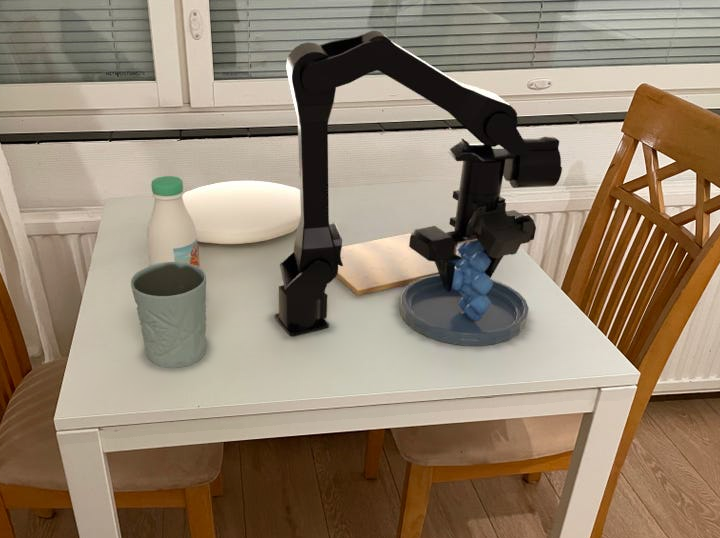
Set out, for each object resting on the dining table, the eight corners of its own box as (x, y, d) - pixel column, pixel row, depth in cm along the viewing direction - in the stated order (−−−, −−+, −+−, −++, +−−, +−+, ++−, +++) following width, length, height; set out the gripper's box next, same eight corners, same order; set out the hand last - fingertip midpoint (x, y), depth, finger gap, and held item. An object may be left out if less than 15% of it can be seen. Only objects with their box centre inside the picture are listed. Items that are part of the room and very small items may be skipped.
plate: (147, 226, 134) (180, 176, 156) (155, 259, 138) (186, 206, 160) (303, 216, 130) (314, 166, 153) (306, 251, 134) (316, 197, 156)
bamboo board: (357, 296, 123) (357, 290, 122) (314, 257, 135) (314, 252, 134) (459, 272, 129) (460, 267, 129) (409, 237, 142) (410, 232, 141)
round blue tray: (445, 358, 107) (447, 345, 106) (377, 299, 122) (378, 287, 120) (552, 329, 114) (555, 316, 112) (475, 276, 128) (477, 264, 127)
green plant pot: (213, 333, 113) (208, 261, 106) (209, 371, 104) (203, 295, 98) (145, 334, 113) (136, 262, 106) (135, 372, 104) (125, 296, 98)
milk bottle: (161, 315, 117) (148, 193, 106) (148, 294, 123) (134, 175, 112) (208, 305, 120) (200, 185, 109) (193, 285, 126) (184, 168, 115)
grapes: (431, 296, 122) (438, 227, 115) (471, 293, 123) (481, 225, 116) (451, 333, 112) (461, 260, 106) (495, 330, 113) (507, 257, 106)
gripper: (458, 219, 97) (445, 323, 106) (571, 197, 103) (550, 297, 112) (412, 191, 105) (403, 289, 114) (519, 172, 112) (502, 266, 120)
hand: (466, 286), depth 115 cm, fingers closed on grapes, 6 cm apart
